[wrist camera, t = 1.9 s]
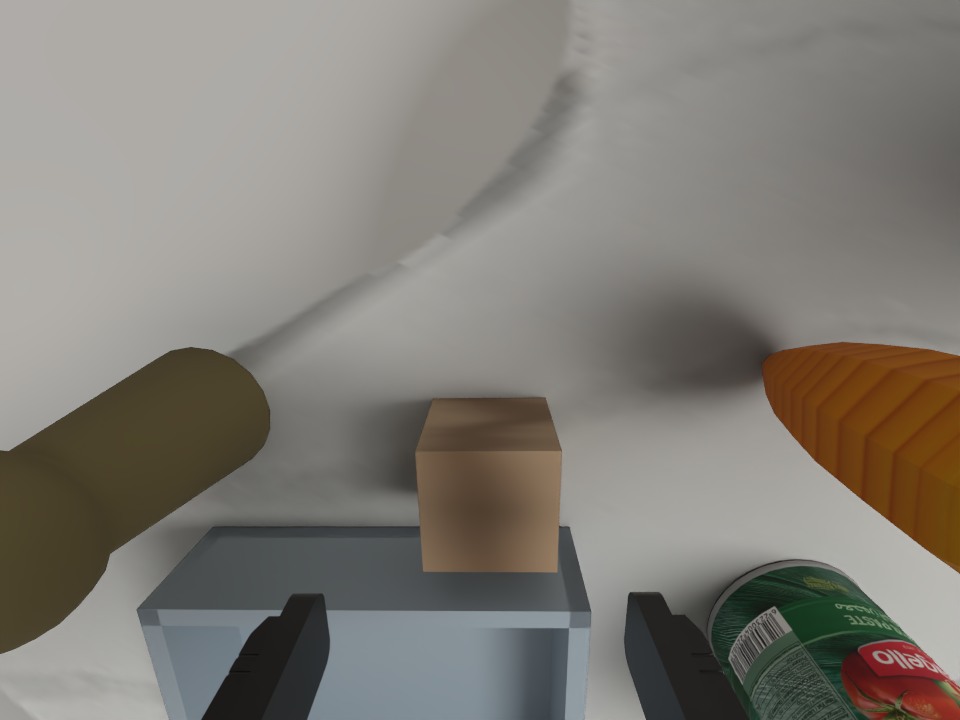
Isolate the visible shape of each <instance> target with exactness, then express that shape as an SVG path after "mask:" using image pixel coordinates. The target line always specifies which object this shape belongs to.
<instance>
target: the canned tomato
mask: <svg viewBox="0 0 960 720" xmlns="http://www.w3.org/2000/svg"><path fill="white" fill-rule="evenodd" d="M708 640H709V644H710V648H711V649H712V651H713V654H714V656H715V657H716V659H717V660H718V662H719V663H720V665H721V667H722V669H723V671H724V673H725V675H726V677H727V679H728V681H729V683H730V684H731V686H732V688H733V690H734V692H735V694H736V695H737V697H738V699H739V701H740V703H741V705H742V707H743V708H744V710H745V712H746V714H747V716H748V718H749V719H750V720H960V687H959V686H958V685H957V684H956V683H955V682H954V681H953V679H952V678H951V677H950V676H949V675H947V674H946V673H945V672H944V671H943V670H942V669H941V668H940V667H939V666H938V665H937V664H936V663H935V662H934V661H933V659H932V658H931V657H929V656H928V655H927V654H926V653H925V652H924V651H923V650H921V648H920V647H919V646H918V645H917V644H916V643H915V641H914V640H912V639H911V638H910V637H909V636H907V635H906V634H905V633H904V632H903V631H902V630H901V628H900V627H899V626H898V625H897V624H896V623H895V622H893V621H892V620H891V619H890V618H889V617H888V616H887V615H886V614H885V612H884V611H883V610H882V609H881V608H880V607H879V606H878V605H876V604H875V603H874V602H873V601H872V600H871V599H870V598H869V597H868V596H867V595H866V594H865V593H864V592H863V591H862V590H861V589H860V588H859V586H858V585H857V584H856V583H855V581H854V580H853V579H851V578H850V577H849V576H847V575H846V574H845V573H843V572H842V571H841V570H838V569H836V568H834V567H832V566H830V565H827V564H823V563H819V562H815V561H803V560H794V561H783V562H778V563H774V564H770V565H766V566H763V567H761V568H759V569H756V570H754V571H751V572H749V573H748V574H746V575H745V576H743V577H741V578H740V579H738V580H737V581H735V582H734V583H733V584H732V585H731V586H730V587H729V588H727V589H726V590H725V592H724V593H723V594H722V595H721V596H720V598H719V599H718V600H717V602H716V604H715V606H714V608H713V610H712V611H711V614H710V618H709V621H708Z"/></svg>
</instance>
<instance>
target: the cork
mask: <svg viewBox="0 0 960 720" xmlns="http://www.w3.org/2000/svg"><path fill="white" fill-rule="evenodd" d="M269 430H270V409H269V406H268V403H267V400H266V398H265V395H264V392H263V390H262V389H261V387H260V386H259V384H258V383H257V382H256V380H255V379H254V377H253V376H252V375H251V373H250V372H248V371H247V370H246V369H245V368H243V367H242V366H241V365H240V364H239V363H237V362H236V361H235V360H234V359H232V358H229V357H227V356H225V355H223V354H220V353H218V352H216V351H213V350H208V349H201V348H193V347H189V348H184V349H178V350H173V351H170V352H168V353H166V354H164V355H163V356H161V357H159V358H158V359H156V360H154V361H153V362H151V363H150V364H148V365H146V366H145V367H143V368H141V369H140V370H138V371H137V372H135V373H134V374H132V375H130V376H129V377H127V378H125V379H124V380H122V381H121V382H119V383H118V384H116V385H114V386H113V387H111V388H109V389H108V390H106V391H105V392H103V393H101V394H100V395H98V396H97V397H95V398H94V399H92V400H90V401H89V402H87V403H85V404H84V405H82V406H80V407H79V408H77V409H76V410H74V411H73V412H71V413H69V414H68V415H66V416H65V417H63V418H61V419H60V420H58V421H56V422H55V423H53V424H52V425H50V426H49V427H47V428H45V429H44V430H42V431H40V432H39V433H37V434H36V435H34V436H33V437H31V438H29V439H28V440H26V441H24V442H23V443H21V444H20V445H18V446H16V447H15V448H13V449H11V450H10V451H0V654H2V653H5V652H8V651H11V650H14V649H16V648H18V647H20V646H22V645H24V644H26V643H28V642H30V641H32V640H34V639H36V638H37V637H39V636H41V635H42V634H44V633H46V632H47V631H49V630H50V629H52V628H54V627H55V626H57V625H58V624H60V623H61V622H62V621H63V620H64V619H65V618H66V617H67V616H68V615H69V614H70V613H71V612H72V611H73V610H75V609H76V608H77V607H78V606H79V605H80V603H81V602H82V601H83V600H84V599H85V598H86V596H87V595H88V594H89V593H90V592H91V591H92V589H93V588H94V587H95V585H96V584H97V582H98V581H99V579H100V578H101V576H102V575H103V573H104V572H105V570H106V567H107V563H108V560H109V556H110V553H112V552H113V551H115V550H116V549H118V548H119V547H121V546H122V545H124V544H125V543H127V542H128V541H130V540H131V539H133V538H134V537H136V536H137V535H139V534H140V533H142V532H143V531H145V530H146V529H148V528H149V527H151V526H152V525H154V524H155V523H157V522H158V521H160V520H161V519H163V518H164V517H166V516H167V515H169V514H170V513H172V512H173V511H175V510H176V509H178V508H179V507H181V506H182V505H184V504H185V503H187V502H188V501H190V500H191V499H192V498H194V497H195V496H197V495H198V494H200V493H201V492H203V491H204V490H206V489H207V488H209V487H210V486H212V485H213V484H215V483H216V482H218V481H219V480H221V479H222V478H224V477H225V476H227V475H228V474H230V473H231V472H233V471H234V470H236V469H237V468H239V467H240V466H242V465H243V464H245V463H246V462H248V461H249V460H251V459H252V458H253V457H254V456H255V455H256V454H257V453H258V451H259V450H260V449H261V448H262V447H263V446H264V443H265V441H266V438H267V435H268V433H269Z"/></svg>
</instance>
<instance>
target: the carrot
mask: <svg viewBox="0 0 960 720" xmlns="http://www.w3.org/2000/svg"><path fill="white" fill-rule="evenodd" d="M762 375H763V381H764V387H765V393H766V395H767V398H768V400H769V402H770V405H771V407H772V409H773V411H774V413H775V415H776V416H777V417H778V418H779V420H780V421H781V422H782V423H783V425H784V426H785V427H786V428H787V430H788V431H789V432H790V433H791V435H792V436H793V437H794V438H795V439H796V440H797V441H798V442H799V444H800V445H801V446H802V447H803V448H804V449H805V450H806V451H807V452H808V453H809V454H810V456H811V457H812V458H813V459H814V460H815V461H816V462H817V463H818V464H820V465H821V466H822V467H823V468H825V469H826V470H827V471H828V472H829V473H831V474H832V475H833V476H834V477H835V478H837V479H838V480H839V481H840V482H841V483H843V484H844V485H845V486H846V487H847V488H849V489H850V490H851V491H852V492H853V493H855V494H856V495H857V496H858V497H859V498H861V499H862V500H863V501H864V502H866V503H867V504H868V505H870V506H871V507H872V508H873V509H875V510H876V511H877V512H879V513H880V514H881V515H882V516H884V517H885V518H886V519H888V520H889V521H890V522H891V523H893V524H894V525H895V526H896V527H898V528H899V529H900V530H902V531H903V532H904V533H905V534H907V535H908V536H909V537H911V538H912V539H913V540H914V541H916V542H917V543H918V544H920V545H921V546H922V547H923V548H925V549H926V550H928V551H929V552H930V553H932V554H933V555H935V556H936V557H937V558H939V559H940V560H942V561H943V562H944V563H946V564H947V565H949V566H950V567H951V568H953V569H954V570H956V571H957V572H958V573H960V356H957V355H952V354H948V353H943V352H939V351H934V350H929V349H919V348H910V347H900V346H891V345H881V344H864V343H848V342H840V343H831V344H822V345H812V346H806V347H800V348H794V349H787V350H783V351H780V352H777V353H774V354H771V355H770V356H769V357H768V358H767V359H766V360H765V361H764V362H763V363H762Z"/></svg>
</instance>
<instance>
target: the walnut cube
mask: <svg viewBox="0 0 960 720" xmlns="http://www.w3.org/2000/svg"><path fill="white" fill-rule="evenodd" d="M415 456H416V472H417V487H418V502H419V517H420V532H421V547H422V563H423V572H557V565H558V538H559V512H560V486H561V459H562V450H561V447H560V444H559V440H558V437H557V434H556V430H555V427H554V424H553V421H552V417H551V414H550V411H549V408H548V404H547V401H546V398H445V399H433V401H432V404H431V407H430V410H429V413H428V416H427V418H426V421H425V424H424V427H423V430H422V433H421V436H420V439H419V442H418V445H417V448H416V451H415Z"/></svg>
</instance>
